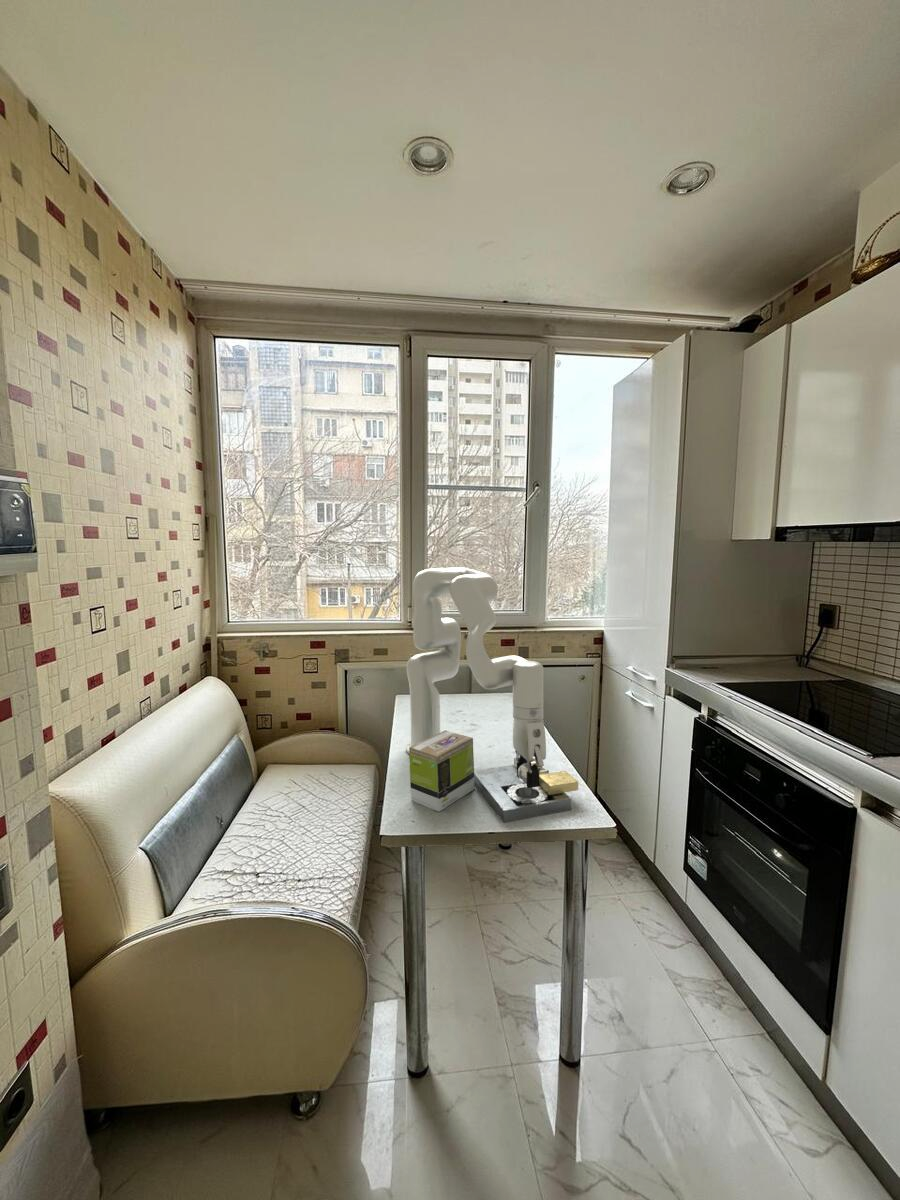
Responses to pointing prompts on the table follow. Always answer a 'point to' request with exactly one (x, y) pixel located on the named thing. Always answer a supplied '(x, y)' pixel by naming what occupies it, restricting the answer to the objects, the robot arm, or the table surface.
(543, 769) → the parts tray
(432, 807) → the tea box
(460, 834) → the table surface
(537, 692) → the robot arm
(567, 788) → the brass cover
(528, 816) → the bearing plate
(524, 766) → the steel ball
